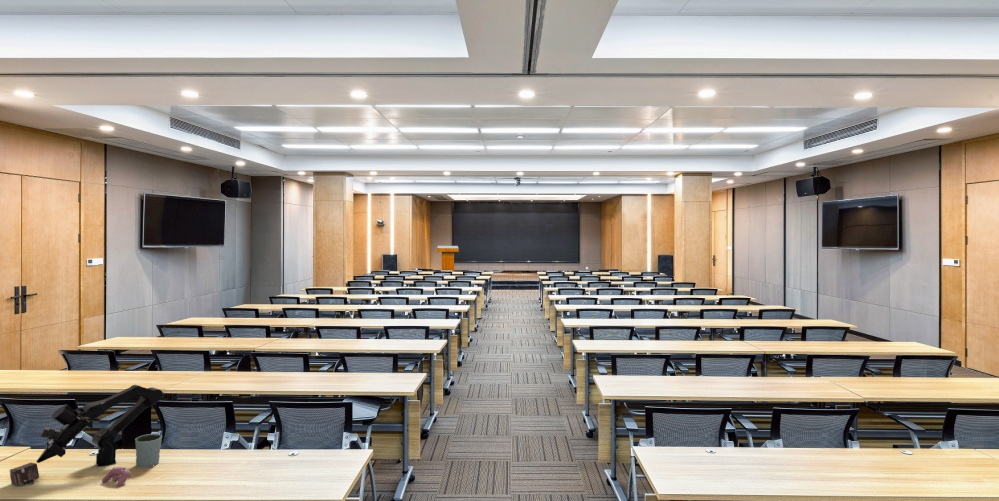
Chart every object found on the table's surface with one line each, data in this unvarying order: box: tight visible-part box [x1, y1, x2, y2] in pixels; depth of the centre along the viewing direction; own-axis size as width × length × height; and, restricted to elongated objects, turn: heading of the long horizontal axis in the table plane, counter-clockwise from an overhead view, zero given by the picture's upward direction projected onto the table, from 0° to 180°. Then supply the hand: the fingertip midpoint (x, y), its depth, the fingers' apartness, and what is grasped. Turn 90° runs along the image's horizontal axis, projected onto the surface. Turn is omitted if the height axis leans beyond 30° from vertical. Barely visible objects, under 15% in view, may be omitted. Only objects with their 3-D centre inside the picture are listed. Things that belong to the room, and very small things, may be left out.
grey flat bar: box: [22, 479, 35, 487], centre depth 226 cm, size 3×12×1 cm, turn 41°
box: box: [9, 462, 40, 487], centre depth 223 cm, size 6×6×7 cm
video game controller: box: [101, 466, 132, 487], centre depth 226 cm, size 10×5×7 cm, turn 72°
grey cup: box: [134, 433, 163, 468], centre depth 246 cm, size 10×10×12 cm
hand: (37, 462), depth 228 cm, fingers closed
